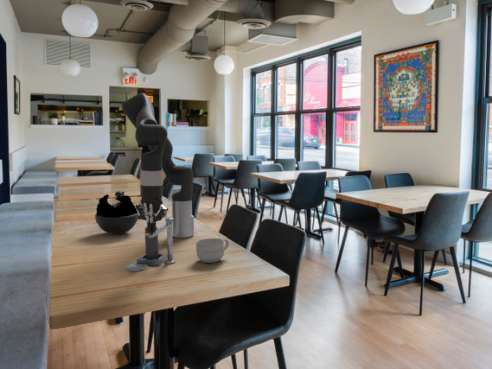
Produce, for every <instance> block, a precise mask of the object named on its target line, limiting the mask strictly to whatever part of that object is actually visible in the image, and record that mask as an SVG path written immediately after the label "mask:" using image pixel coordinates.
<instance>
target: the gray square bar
mask: <svg viewBox="0 0 492 369" xmlns="http://www.w3.org/2000/svg"><path fill="white" fill-rule="evenodd" d="M164 221H165V224H164V225H163V226H161V227H160V228H158V230H156V231H154V232H153V233H151V234H149V238H153V237H154V236H156V235H158V236H159V234H161V233H162V232H164V231H165V230H166V231H167V228H169V227H170V224H169V221H174V218H172V217H165V219H164Z"/></svg>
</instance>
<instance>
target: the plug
mask: <svg viewBox="0 0 492 369" xmlns="http://www.w3.org/2000/svg"><path fill="white" fill-rule="evenodd" d="M158 229H159V228H158V226H156V230H158ZM149 234H151V233H148V231H147V226H146V227H144V242H145V245H144V247H145V253H146V259H158V258H159V253H160V252H159V249H160V248H159V234H158V235H156V236H154V237H153V238H149Z"/></svg>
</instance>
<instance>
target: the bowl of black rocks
mask: <svg viewBox="0 0 492 369" xmlns="http://www.w3.org/2000/svg"><path fill="white" fill-rule="evenodd" d="M109 197H110V195H109V194H105V195H103V197H101V198H99V199H98V203H97V205H96V209H95V210H96V212H95V215H94V219H95V221H96V223H97V225H98V226H99V228H100V229H101V230H102V231H104V232H105V233H107V234H110V235H115V236H117V235H118V236H119V235H123V234H126V233H128V232H130V231H131V230H132V229H133V228H134V227H135V225H136V224H137V222H138V219H139V215H140V214H139V212H138V211H137V209H136V207H135V206H136V205H134V204H135V203H134V202H132V198H131V197H130V196H129V195H125V194H124V196H119V197H118V198H117V197H114V199H115V200H116V201H117V202H122V203H121V204H119V205H118V206H117V207H116V208H115V207H114V206H112V204H111V203H109V201H108V199H109Z"/></svg>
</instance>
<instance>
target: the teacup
mask: <svg viewBox="0 0 492 369" xmlns="http://www.w3.org/2000/svg"><path fill="white" fill-rule="evenodd" d="M224 242H225V243H224ZM229 245H230V241H229V240H228V239H227V238H222V239H221V238H216V237H212V238H211V237H210V238H201V239H198V240H196V241H195V248H196V256H197V259H199V260H200V261H201V262H202V263H204V262H205V263H206V264H213V263H218V262H219V261H221V259H223V257H224V255H225V254H224V253H225V251H226V250H227V249H228V248H229ZM205 263H204V264H205Z"/></svg>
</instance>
